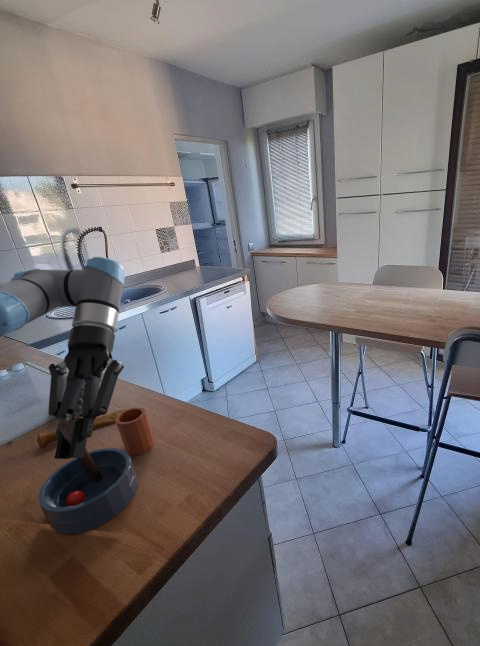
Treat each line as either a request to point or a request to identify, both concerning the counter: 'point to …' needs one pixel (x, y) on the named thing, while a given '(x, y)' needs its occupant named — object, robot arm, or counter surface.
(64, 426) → the stick
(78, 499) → the tomato
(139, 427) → the crock
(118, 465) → the bowl
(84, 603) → the counter surface
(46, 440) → the primitive tool
